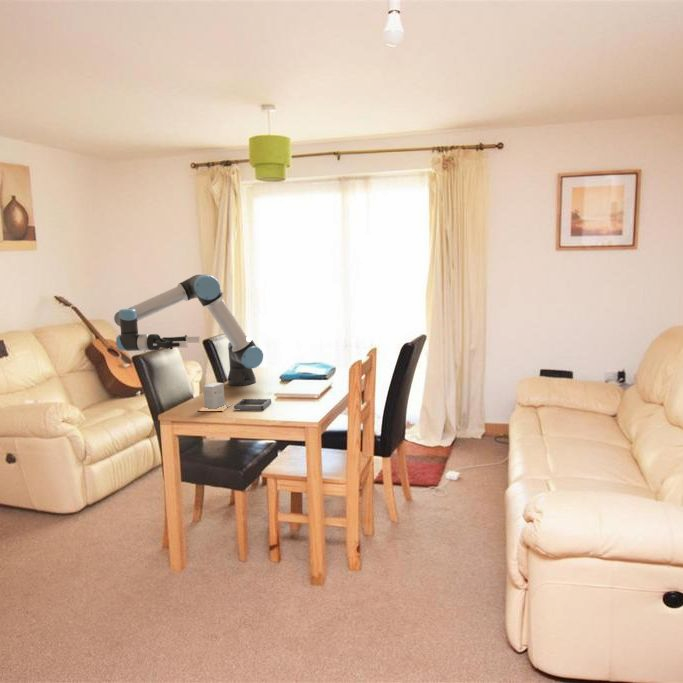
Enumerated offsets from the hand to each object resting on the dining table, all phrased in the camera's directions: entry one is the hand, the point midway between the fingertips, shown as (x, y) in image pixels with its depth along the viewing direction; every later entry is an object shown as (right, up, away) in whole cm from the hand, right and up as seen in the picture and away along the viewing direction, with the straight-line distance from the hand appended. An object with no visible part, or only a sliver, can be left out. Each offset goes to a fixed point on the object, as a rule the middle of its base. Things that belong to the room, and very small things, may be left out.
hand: (193, 341), depth 261 cm
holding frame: (+27, -29, -1) cm, 40 cm away
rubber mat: (+10, -30, -1) cm, 32 cm away
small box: (+10, -30, -1) cm, 31 cm away
